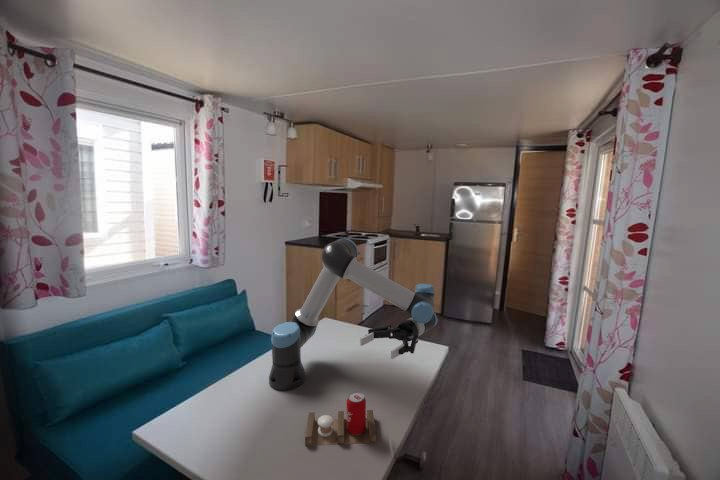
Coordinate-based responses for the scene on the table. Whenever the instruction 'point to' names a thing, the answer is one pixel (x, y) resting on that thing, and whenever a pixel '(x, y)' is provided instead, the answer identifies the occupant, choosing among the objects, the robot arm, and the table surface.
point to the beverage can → (356, 413)
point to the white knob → (325, 426)
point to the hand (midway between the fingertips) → (375, 348)
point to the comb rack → (339, 431)
